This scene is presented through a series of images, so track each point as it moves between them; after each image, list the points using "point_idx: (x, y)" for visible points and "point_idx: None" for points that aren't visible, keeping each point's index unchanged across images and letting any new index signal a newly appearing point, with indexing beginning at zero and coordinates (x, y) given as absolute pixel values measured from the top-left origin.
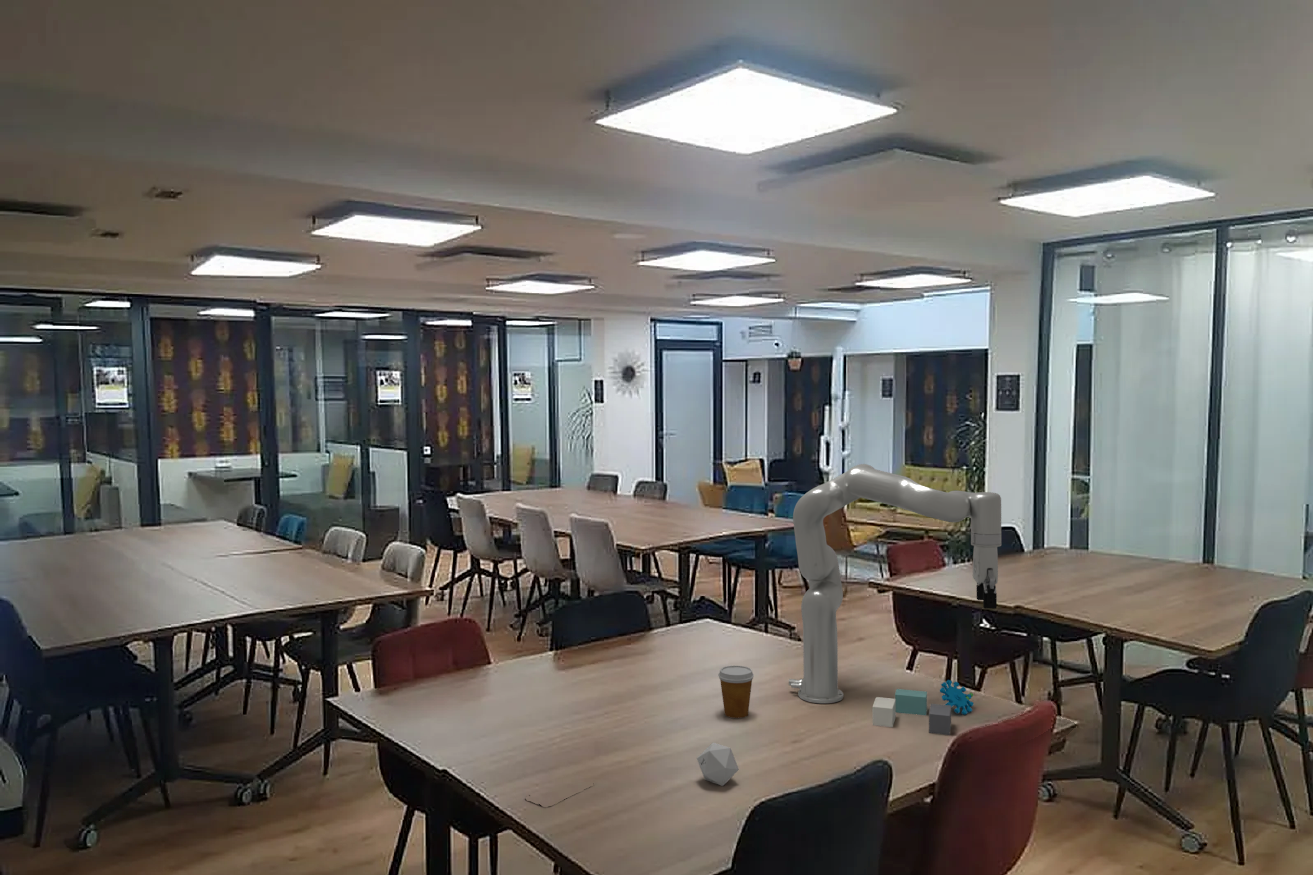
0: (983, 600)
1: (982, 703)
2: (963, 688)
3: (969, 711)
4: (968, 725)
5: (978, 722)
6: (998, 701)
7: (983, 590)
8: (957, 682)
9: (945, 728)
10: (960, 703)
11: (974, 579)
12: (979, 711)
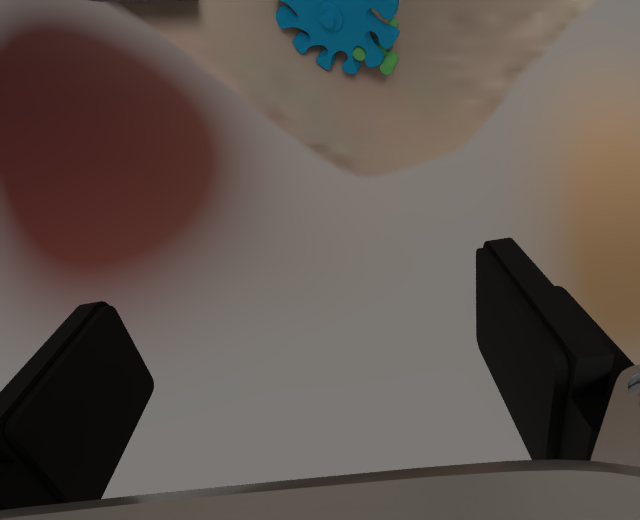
0: (40, 354)
1: (427, 99)
2: (385, 38)
3: (317, 60)
4: (211, 59)
5: (249, 89)
6: (455, 146)
7: (520, 376)
8: (393, 11)
9: None
10: (312, 28)
11: (291, 497)
12: (349, 91)
